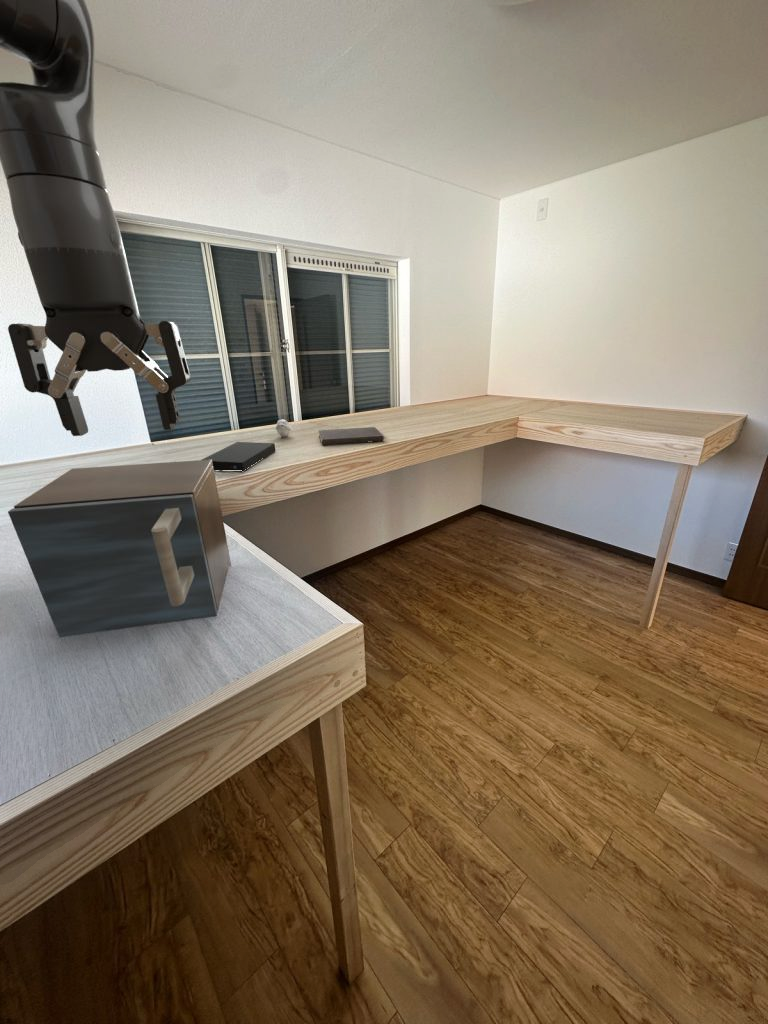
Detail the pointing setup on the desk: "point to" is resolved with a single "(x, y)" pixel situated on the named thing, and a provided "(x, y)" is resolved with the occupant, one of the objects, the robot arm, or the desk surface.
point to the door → (117, 562)
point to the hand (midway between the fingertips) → (126, 431)
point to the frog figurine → (283, 428)
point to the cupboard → (146, 484)
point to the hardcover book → (349, 435)
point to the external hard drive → (240, 455)
